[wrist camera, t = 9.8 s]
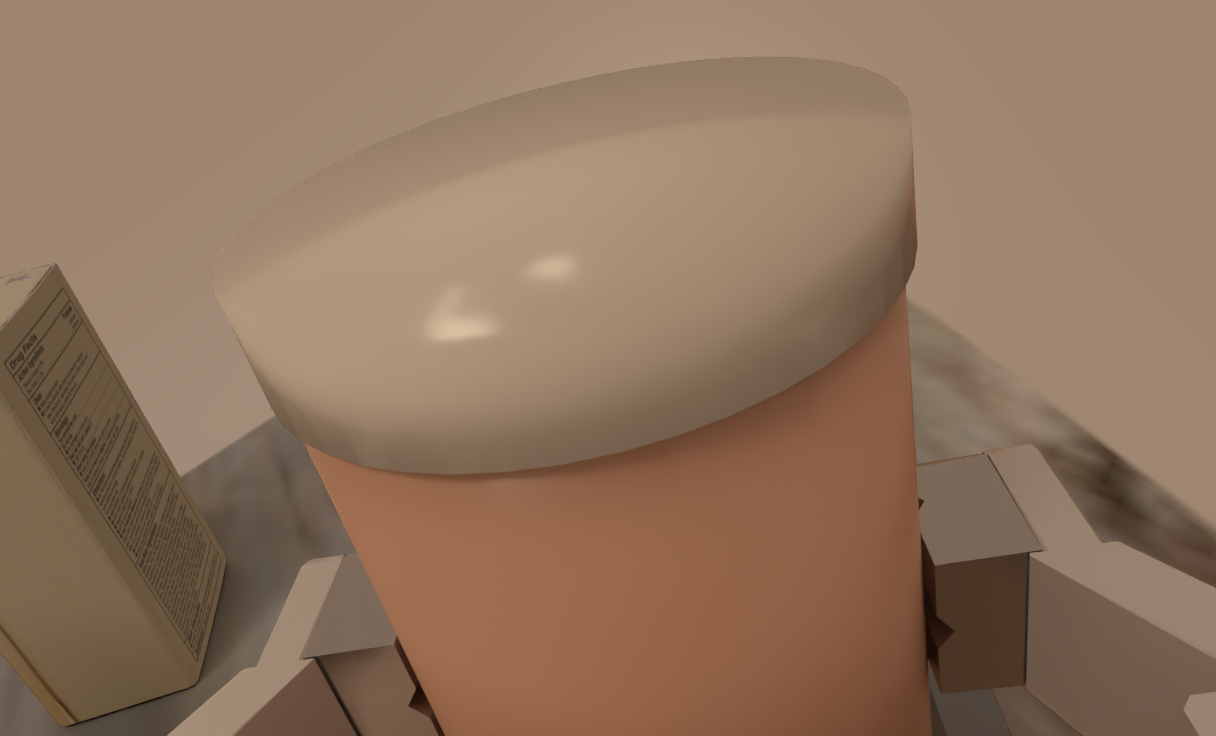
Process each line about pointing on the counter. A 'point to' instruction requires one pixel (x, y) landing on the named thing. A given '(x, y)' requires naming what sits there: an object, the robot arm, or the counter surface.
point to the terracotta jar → (619, 398)
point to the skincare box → (91, 520)
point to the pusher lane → (965, 712)
